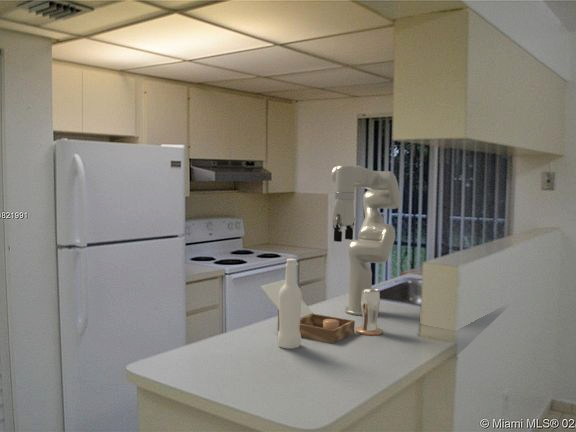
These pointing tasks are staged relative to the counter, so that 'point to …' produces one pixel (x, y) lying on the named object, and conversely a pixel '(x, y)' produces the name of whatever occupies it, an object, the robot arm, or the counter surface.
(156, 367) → the counter surface
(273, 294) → the propped lid
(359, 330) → the orange dish
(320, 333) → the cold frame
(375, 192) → the robot arm
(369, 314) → the beer glass
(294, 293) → the bottle
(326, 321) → the peach rounded cylinder
